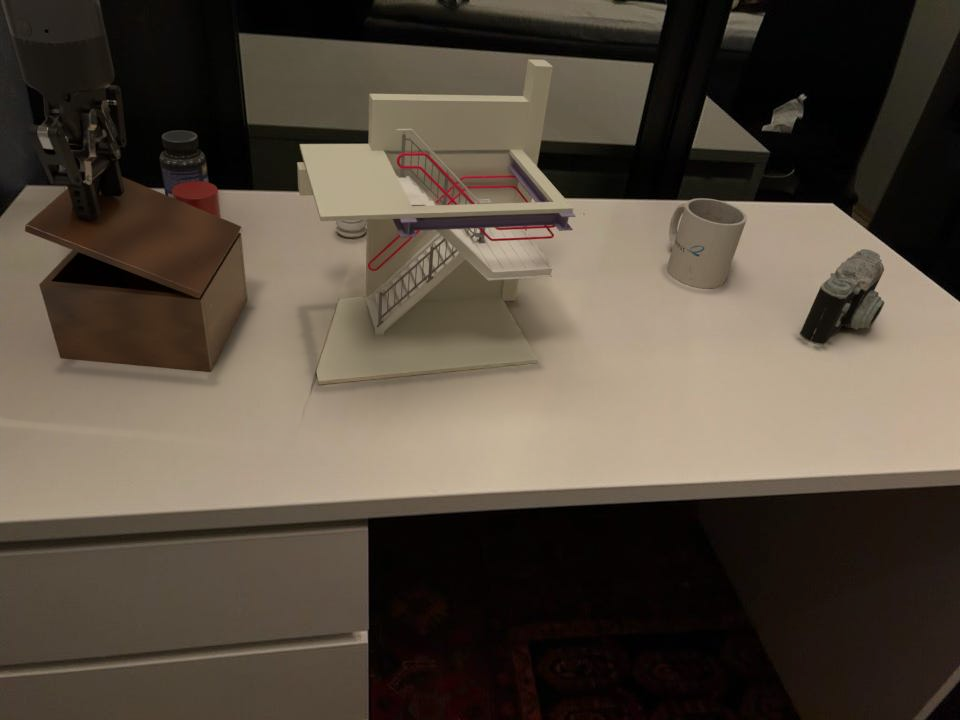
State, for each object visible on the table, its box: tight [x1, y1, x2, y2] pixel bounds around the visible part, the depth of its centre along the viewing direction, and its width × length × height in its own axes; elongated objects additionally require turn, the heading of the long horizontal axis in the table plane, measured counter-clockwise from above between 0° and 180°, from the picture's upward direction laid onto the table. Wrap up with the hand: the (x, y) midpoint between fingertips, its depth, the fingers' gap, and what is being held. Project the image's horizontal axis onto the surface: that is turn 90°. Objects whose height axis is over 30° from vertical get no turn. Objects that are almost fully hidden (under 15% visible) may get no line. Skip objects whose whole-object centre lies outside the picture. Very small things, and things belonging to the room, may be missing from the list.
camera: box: [799, 248, 885, 346], centre depth 98 cm, size 15×7×10 cm, turn 137°
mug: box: [666, 197, 748, 289], centre depth 108 cm, size 12×9×10 cm
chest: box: [38, 232, 248, 373], centre depth 81 cm, size 16×15×10 cm
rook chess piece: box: [335, 220, 367, 239], centre depth 106 cm, size 4×4×8 cm
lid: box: [24, 155, 242, 299], centre depth 75 cm, size 16×15×5 cm
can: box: [172, 181, 222, 218], centre depth 99 cm, size 6×6×8 cm
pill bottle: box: [159, 129, 210, 198], centre depth 105 cm, size 6×6×11 cm
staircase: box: [296, 59, 576, 386], centre depth 80 cm, size 28×18×30 cm, turn 107°
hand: (101, 205), depth 75 cm, fingers closed on lid, 5 cm apart
